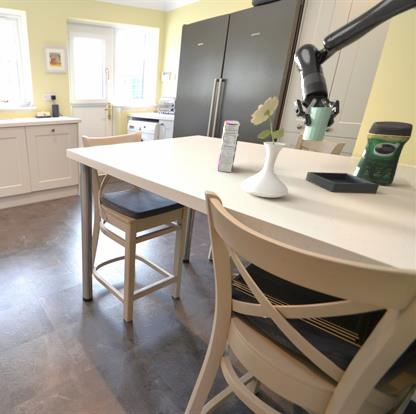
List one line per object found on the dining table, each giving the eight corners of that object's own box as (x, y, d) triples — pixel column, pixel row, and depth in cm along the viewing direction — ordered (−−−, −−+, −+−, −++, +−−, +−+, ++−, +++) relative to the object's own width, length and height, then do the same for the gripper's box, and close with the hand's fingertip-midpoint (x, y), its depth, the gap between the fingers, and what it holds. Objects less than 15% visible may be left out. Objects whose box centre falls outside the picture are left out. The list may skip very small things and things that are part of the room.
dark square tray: (343, 180, 91) (346, 173, 90) (375, 193, 80) (379, 184, 79) (305, 179, 92) (307, 171, 91) (331, 192, 80) (334, 183, 79)
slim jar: (315, 138, 105) (324, 107, 101) (326, 141, 99) (336, 108, 95) (299, 138, 105) (307, 107, 101) (309, 141, 99) (318, 107, 95)
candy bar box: (217, 164, 109) (224, 120, 103) (231, 165, 107) (239, 120, 101) (216, 171, 99) (225, 123, 93) (232, 173, 98) (241, 123, 91)
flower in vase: (266, 186, 84) (288, 96, 74) (296, 200, 73) (327, 97, 64) (226, 188, 82) (243, 95, 72) (251, 202, 71) (276, 96, 62)
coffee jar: (389, 181, 91) (414, 121, 84) (392, 187, 85) (419, 123, 78) (350, 176, 97) (371, 119, 90) (351, 181, 91) (373, 121, 84)
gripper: (297, 80, 103) (301, 117, 96) (342, 80, 100) (349, 118, 94) (287, 96, 110) (291, 131, 103) (329, 96, 107) (336, 132, 100)
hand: (319, 125), depth 98 cm, fingers closed on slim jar, 6 cm apart
